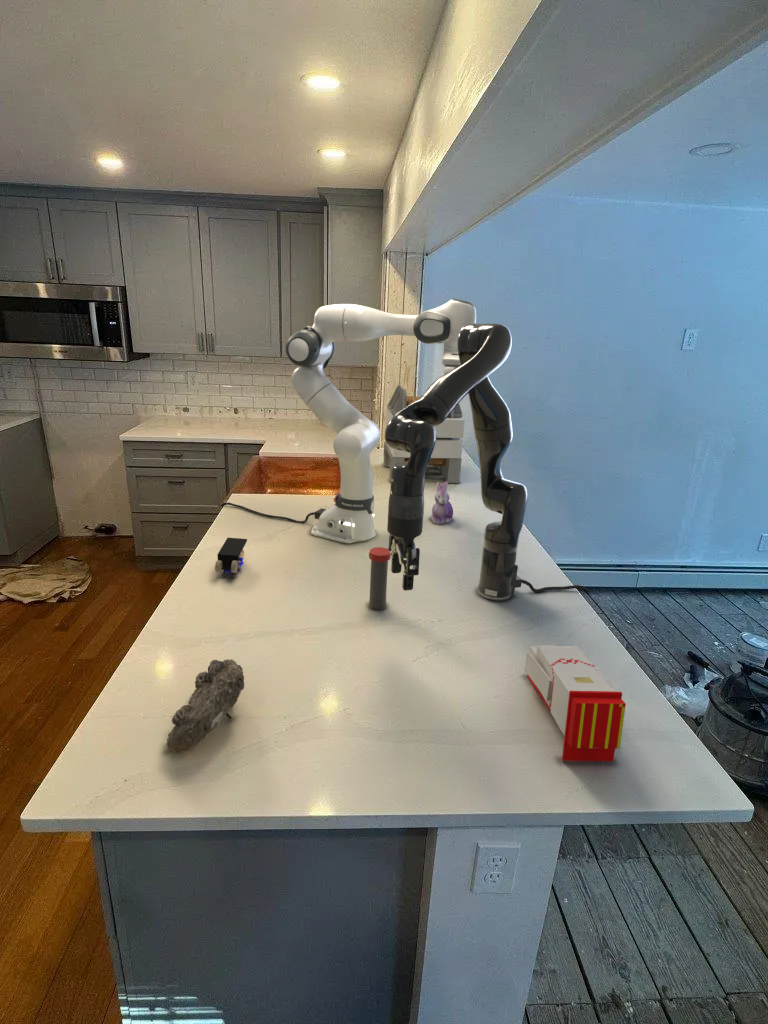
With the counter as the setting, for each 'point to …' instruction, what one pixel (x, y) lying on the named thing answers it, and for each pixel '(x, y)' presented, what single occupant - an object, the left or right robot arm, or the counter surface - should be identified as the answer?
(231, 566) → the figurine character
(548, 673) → the toy
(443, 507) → the figurine
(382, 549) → the lid
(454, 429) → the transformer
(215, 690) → the fossil
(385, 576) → the jar
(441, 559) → the counter surface
